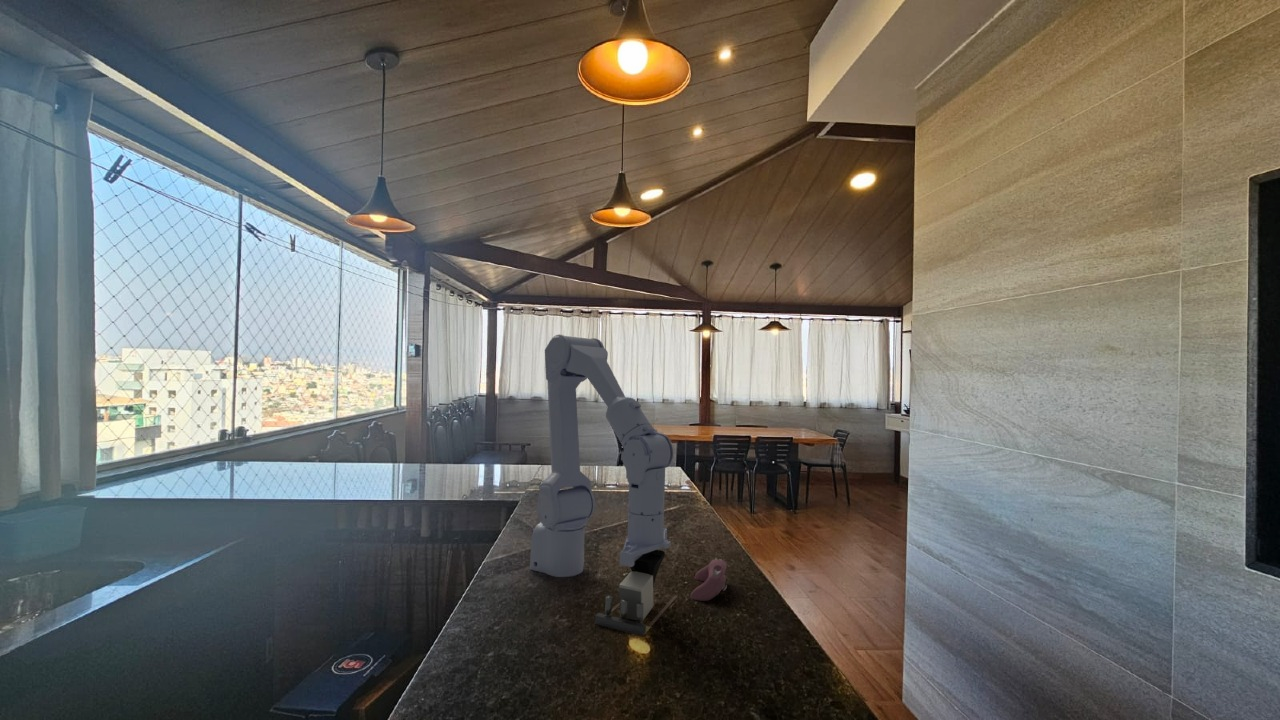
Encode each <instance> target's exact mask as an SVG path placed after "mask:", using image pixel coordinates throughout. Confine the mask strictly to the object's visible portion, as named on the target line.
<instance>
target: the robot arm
mask: <svg viewBox="0 0 1280 720" xmlns="http://www.w3.org/2000/svg"><path fill="white" fill-rule="evenodd" d="M604 346H605V345H604V343H603V342H602V341H601V340H600V339H598V338H587V337H586V338H585V337H577V336H568V335H563V334H555V335H554V336H553V337H551V339H550V341H549V342H548V344H547V345H546V347H545V349H544V365H545V380H546V381H547V395H548V396H547V399H548V420H549V441H550V442H549V443H550V468H551V473H550V474H549V475H548V476H547V477H546V478H545V479H544V480H543V481H541V483H539V485H538V486H539V487H538V488H539V492H538V493H539V494H538V499H537V503H536V515H537V518H538V519H539V521H540V522H539V523H538V524H536V526H535V527H534V529H533V531H532V535H531V539H530V555H529V556H530V557H529V558H530V559H529V570H532V571H535V572H539V573H543V574H546V575H549V576H552V577H557V578H567V577H574V576H578V575H580V574H581V573H583V571H584V564H585V563H584V560H585V559H584V558H585V538H586V537H585V536H586V535H585V534H586V532H585V531H586V525H589V519H590V518H591V517H592V516H593V515H594V513H595V510H596V500H595V496H594V493H593V490H592V482H591V481H592V480H591V479H590V478H589V477H588V476H587V475H586V474H584V473H583V472H582V471H581V463H580V460H581V459H580V445H579V444H580V442H579V439H580V438H579V424H578V423H579V421H578V407H577V405H578V404H577V388H578V387H579V385H580V384H581V383H583V382H584V381H586V380H587V379H588V381H589V383H590V384H591V385H592V387H593V388H594V389H595V391H596V392H597V394H598V395H599V396H600V398H601V399H602V401H603V402H604V404H605V405H606V407H607V409H606V413H605V417H606V420H607V421H608V423H609V425H610V427H611V428H612V431H613V432H614V434H615V435H616V437H617V439H618V440H619V443H621V446H622V447H623V451H621V460H622V463H623V466H624V468H625V472H626V474H625V479H627V483H628V507H627V509H628V510H627V537H626V539H625V542H624V546H623V548H622V550H621V551H619V565H620V566H624V567H629V568H630V572H631V571H633V572H635V571H636V572H641V573H646V574H649V575H653V590H654V588H655V583H656V578H657V575H658V572H659V569H660V566H661V564H662V562H663V561H664V558H665V557H666V552H665V551H664V550H665V549H666V550H667V549H669V548H671V541H670V540H668V528H665V497H666V496H665V492H666V491H665V489H666V488H665V487H666V469H667V468H668V467H669V466H670V465H671V463H672V461H673V459H674V448H673V445H672V443H671V440H670V438H669V437H668V435H666V434H664V433H662V432H659V431H658V430H657V429H655V428H654V427H653V425H652V424H651V423H650V421H649V420H648V417H647V416H646V415H645V413H644V412H643V410H642V408H641V407H642V406H641V403H640V402H639V401H638V400H636V399H634V398H632V397H629V396H628V397H626V395H625V394H624V392H623V390H622V388H621V386H620V384H619V381H618V380H617V378H616V376H615V374H614V373H613V370H612V368H611V367H610V365H609V362H608V356H609V353H608V350H607V349H606V348H605V347H604ZM661 549H664V550H661Z"/></svg>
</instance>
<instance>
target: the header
mask: <svg viewBox="0 0 1280 720" xmlns="http://www.w3.org/2000/svg"><path fill="white" fill-rule="evenodd" d="M604 600H605V602H604V603H605V605H604V613H601V612H598V613H596V614H594V625H597V626H601V627H605V628H609V629H613V630H617V631H621V632H625V633H628V634H631V635H632V634H633V635H637V636H640V637H644V636H645V634H646V633H647V632H646V626H647V624H645V623H644V620H643V606H644V604H643V603H641V602H639V603H637V606H636V620H631V619H628V618H627V608H628V600H627V599H621V611H620V610H619V617H617V616H613V612H612V608H613V596H612V595H611V594H610V595H606V596H605V599H604Z"/></svg>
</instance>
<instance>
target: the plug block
mask: <svg viewBox="0 0 1280 720" xmlns="http://www.w3.org/2000/svg"><path fill="white" fill-rule="evenodd" d="M618 586H619V602H620V606H619V612H620V611H621V599H627V600H628V608H627V620H631V621H636V606H637V603H639V602H641V603H643V604H644V606H643V621H644V620H645V619H646V617H647V616H648V615H649V613H650V612H651V610H652V609H653V607H654V589H653V575H649V574H646V573H641V572H636V571H635V572H633V571H631V570H630V572H629V573H628V574H627V576H625V578H624V579H623V580H621V582H620V583H619V584H618Z"/></svg>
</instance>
